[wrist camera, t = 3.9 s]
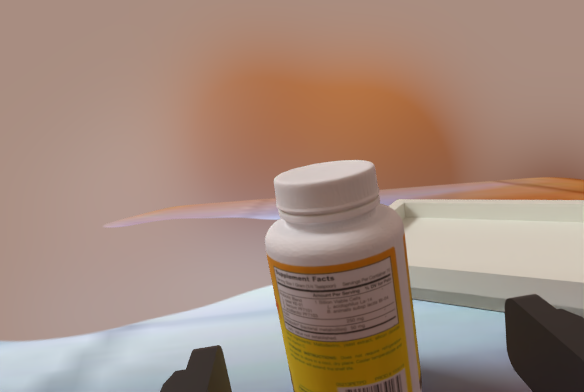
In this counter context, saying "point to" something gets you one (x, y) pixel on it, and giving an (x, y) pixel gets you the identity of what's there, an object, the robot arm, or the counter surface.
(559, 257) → the tray
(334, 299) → the supplement bottle
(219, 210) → the counter surface
